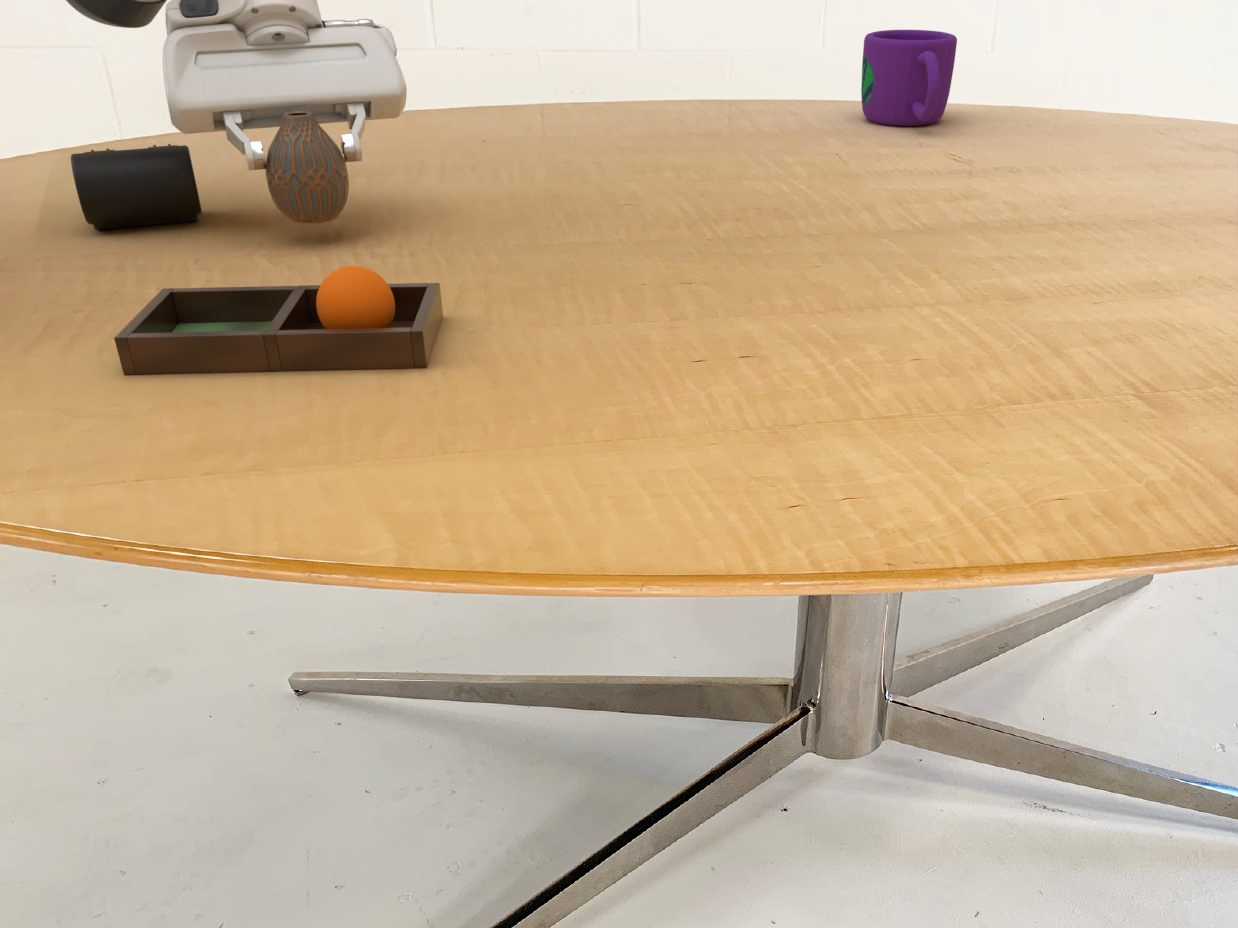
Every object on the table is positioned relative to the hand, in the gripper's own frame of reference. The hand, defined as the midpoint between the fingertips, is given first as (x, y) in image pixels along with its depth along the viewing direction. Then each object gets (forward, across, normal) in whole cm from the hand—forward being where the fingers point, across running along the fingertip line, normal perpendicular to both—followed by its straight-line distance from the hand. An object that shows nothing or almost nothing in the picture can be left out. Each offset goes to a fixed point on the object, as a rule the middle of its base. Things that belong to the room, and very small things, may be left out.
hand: (305, 162), depth 101 cm
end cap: (-4, +14, -14) cm, 20 cm away
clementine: (+25, +2, +16) cm, 30 cm away
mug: (-12, -78, -22) cm, 81 cm away
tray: (+24, +6, +15) cm, 29 cm away
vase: (+3, 0, -4) cm, 5 cm away
